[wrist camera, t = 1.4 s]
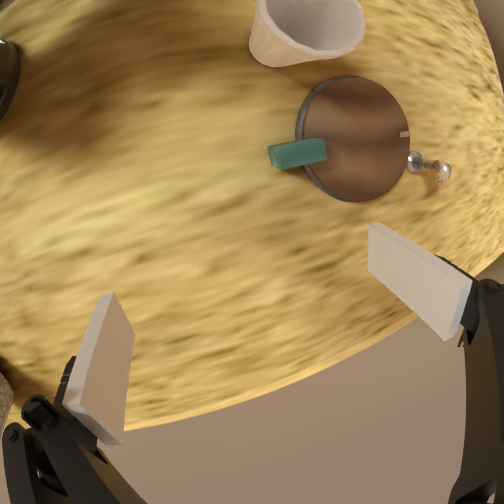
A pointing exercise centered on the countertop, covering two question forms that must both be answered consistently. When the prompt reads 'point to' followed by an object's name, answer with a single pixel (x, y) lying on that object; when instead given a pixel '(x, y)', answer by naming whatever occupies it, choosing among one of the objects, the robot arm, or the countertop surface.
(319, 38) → the cup
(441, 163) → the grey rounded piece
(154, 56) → the countertop surface
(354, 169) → the brown and teal disc
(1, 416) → the planter
